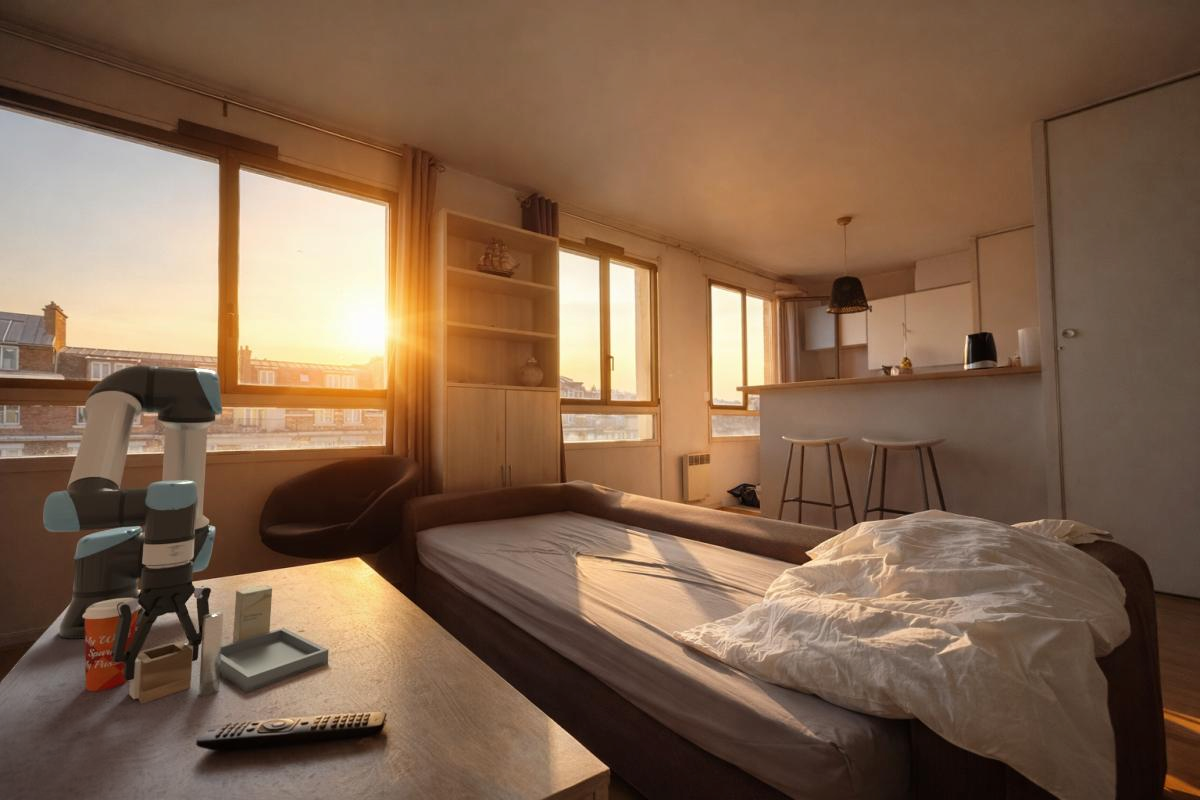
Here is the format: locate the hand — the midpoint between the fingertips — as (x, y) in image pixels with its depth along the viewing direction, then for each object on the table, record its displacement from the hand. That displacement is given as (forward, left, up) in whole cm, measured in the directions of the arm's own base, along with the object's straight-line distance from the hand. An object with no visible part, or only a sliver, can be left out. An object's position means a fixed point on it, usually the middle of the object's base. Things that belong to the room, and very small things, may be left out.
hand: (160, 687), depth 97 cm
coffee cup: (-11, -5, -1) cm, 12 cm away
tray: (+4, +16, 0) cm, 17 cm away
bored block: (0, 0, 0) cm, 0 cm away
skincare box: (-10, +19, -1) cm, 21 cm away
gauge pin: (+8, +5, 0) cm, 9 cm away
